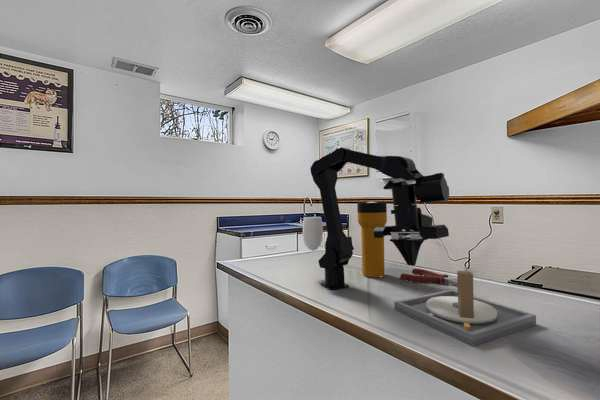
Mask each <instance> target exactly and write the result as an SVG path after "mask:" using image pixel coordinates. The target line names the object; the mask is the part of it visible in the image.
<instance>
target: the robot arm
mask: <svg viewBox="0 0 600 400" xmlns="http://www.w3.org/2000/svg"><path fill="white" fill-rule="evenodd" d="M347 163H350V164H353V165H358V166H362V167H366V168H370V169H374V170H377V171H378V172H380V173H381V174H383V175H385V176H387V177H390V178H392V179H393V180H392V179H391V180H390V179H389V180H388V181H387V182H386V184H385V185H384V186H383V188H382V189H383V190H391V195H392V203H393V209H391V210H390V214H391V215H393V216H394V222H395V223H394V224H395V225H385V226H382V227H376V228H375V229H374V238H383V237H384V238H385V237H386V236H391V238H390V239H389V242H392V243H393V244H394V246H395V248H396V249H397V250H398V252H399V253H400V255H401V256H402V258H403V259H404V261H405V263H406V264H407V265H408V266H412V267H414V266H416V264H417V260H418V256H419V252H420V248H421V246H422V244H423V243H424V242H425V241H427V240H438V239H441V238H447V237H449V236H450V232H449V228H448V227H447V226H446V225H445V224H433V222H434V221H433V220H434V219H433V217H431V216H429V215H427V214H424V213H422V209H421V207H418V205H417V201H418V200H419V201H420V203H422V204H429V203H439V202H447V201H449V197H450V187H449V186H448V181H447V180H446V177H445V173H443V172H439V173H438V172H437V173H434V174H432V175H431V174H429V175H423V174H422V173H421V172H420V171H419V170H418V169H417V167H416V163H415V162H414V160H413V159H411V158H409V157H405V156H399V155H376V154H375V155H374V154H370V153H366V152H362V151H357V150H352V149H350V148H347V147H341V146H340V147H338V148H336V149H335V150H333V151H332V152H330V153H328V154H326V155H324V156H322V157H320V158H319V159H317V160H315V161H313V163H312V165H311V166H310V169H309V170H310V174H311V177H312V181H313V182H314V184H315V185H316V187H317V188H318V189H319V194H320V200H321V204H322V211H323V215H324V222H325V226H326V233H327V237H326V240H325V244H324V252H325V253H324V254H323V255H322V256H321V257H320V258H319V259H318V261H317V262H318V265H319V268H321V269H324V282H321V283H320V285H321V286H322V287H325V288H327V289H328V290H330V291H331V290H332V291H333V290H338V289H345V288H349V284H347V283H345V267H344V266H347V265H349V262H350V260H351V259H352V257H353V255H354V252H353V251H354V250H355V248H354V245H353V240H352V239H353V238H352V236H347V235H346V234H345V232H344V229H343V222H342V218H341V212H340V207H339V201H338V196H337V192H336V186H337V180H338V172H340V171H341V170H342V169H343V168H345V166H346V164H347ZM394 179H396V180H398V179H399V180H403V181H394ZM407 181H408V182H415V183H408V182H407Z"/></svg>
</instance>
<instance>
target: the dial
mask: <svg viewBox="0 0 600 400" xmlns="http://www.w3.org/2000/svg"><path fill="white" fill-rule="evenodd" d="M456 275H457V277H456V279H458V286H457V291H458V297H454V296H440V297H434V298H430V299H428V300H427V302H426V308H427V310H428V311H429V312H430V313H432V314H434V315H436V316H438V317H440V318H443V319H446V320H450V321H455V322H460V323H464V322H465V323H469V324H485V323H490V322H493V321H495V320H496V319H497V310H496V309H495V308H494V307H492V306H490V305H488V304H486V303H483V302H481V301H477V300H473V296H474V274H473V273H472V272H471V271H469V270H457V273H456Z"/></svg>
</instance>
